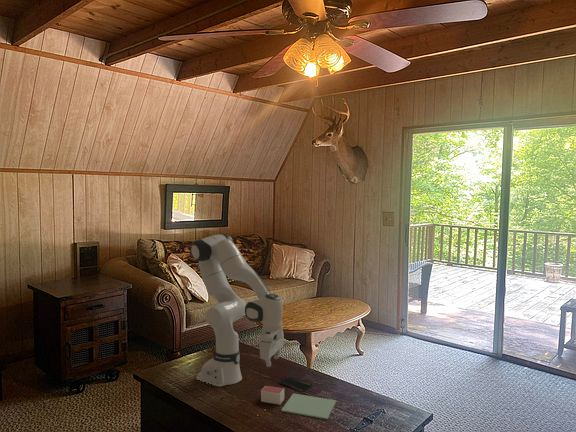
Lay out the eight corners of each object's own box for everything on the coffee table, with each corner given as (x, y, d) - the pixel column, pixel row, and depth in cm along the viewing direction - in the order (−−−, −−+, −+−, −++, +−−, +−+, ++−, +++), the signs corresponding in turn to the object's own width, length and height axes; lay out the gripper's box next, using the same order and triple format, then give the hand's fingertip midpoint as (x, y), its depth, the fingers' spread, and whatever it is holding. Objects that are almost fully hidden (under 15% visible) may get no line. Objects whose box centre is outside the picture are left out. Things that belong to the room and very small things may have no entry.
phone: (288, 376, 214) (313, 384, 206) (288, 379, 215) (313, 387, 206) (278, 382, 208) (304, 390, 199) (278, 384, 208) (304, 393, 199)
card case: (261, 401, 190) (261, 390, 190) (265, 396, 196) (265, 385, 195) (280, 405, 187) (280, 393, 187) (284, 399, 193) (284, 388, 192)
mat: (281, 411, 182) (281, 409, 182) (293, 394, 197) (293, 393, 197) (327, 419, 175) (327, 418, 175) (336, 401, 190) (336, 400, 190)
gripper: (274, 324, 201) (274, 353, 202) (257, 337, 182) (257, 370, 182) (287, 325, 199) (287, 355, 199) (271, 339, 179) (270, 372, 180)
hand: (272, 362), depth 191 cm, fingers open, 8 cm apart
